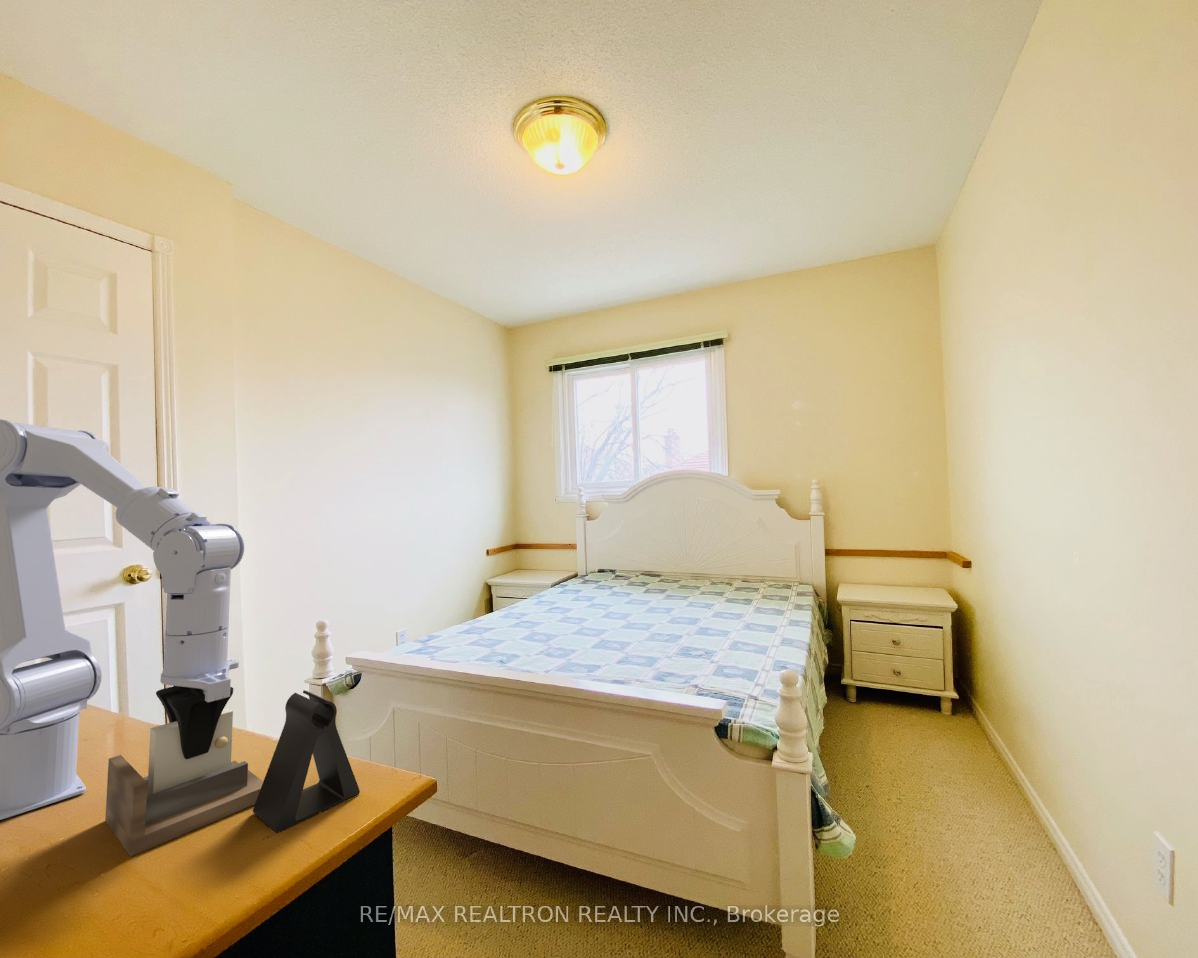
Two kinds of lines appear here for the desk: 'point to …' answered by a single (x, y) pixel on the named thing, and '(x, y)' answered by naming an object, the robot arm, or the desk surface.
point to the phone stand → (305, 766)
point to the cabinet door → (171, 763)
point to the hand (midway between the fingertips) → (192, 751)
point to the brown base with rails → (173, 803)
